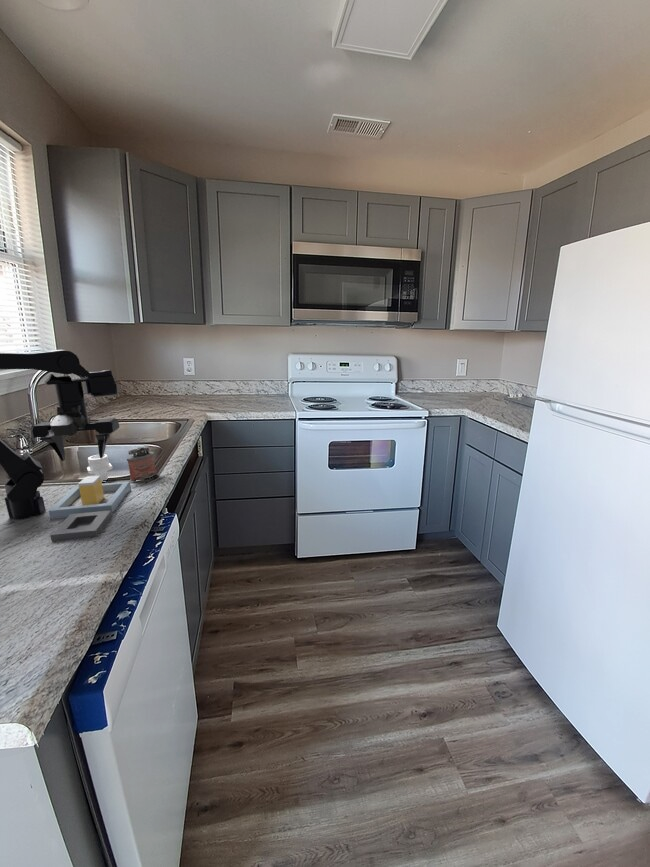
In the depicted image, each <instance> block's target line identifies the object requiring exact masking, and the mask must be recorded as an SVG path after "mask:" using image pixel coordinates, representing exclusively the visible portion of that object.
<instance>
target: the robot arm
mask: <svg viewBox="0 0 650 867" xmlns="http://www.w3.org/2000/svg"><path fill="white" fill-rule="evenodd" d="M0 370H36V371H40V372H41V371H42V372H47V373H48V372H49V373H50V374H49V376H48V378H46V379H45V380H44V383H45V385H49V386H52V385H54V386H55V392H56V396H57V402H58V406H57V407H56V413H57V414H56V416H55V417H54V418H53V419H52V421H41V422H40V423H38V424H35V425H33V426H32V428H31V431H30V432H31V437H32V438H35V439H37V438H38V440H39V441H43V442H46V443H48V444H49V445H50V446H51V448H52V449H53V450H54V452H55V453H56V455H57V456H58V457H59V460H60V461H62V462H64V461H65V460H66V451H65V445H64V440H63V437H64V436H68V437H70V436H75V435H76V434H77V433H78V432H80V431H96V434H95V438H96V439H97V448H98V455H100V458H103V456H104V454H105V452H106V449H107V444H108V440H109V439H110V438H109V437H110V435H112V433H113V434H114V432H116V431H117V430H118V429H120V422H119V420H118V419H117V418H116V417H107V418H106V417H105V418H101V419H98V420H97V421H96V422H91V418H90V417H89V414H88V411H87V407H88V406H89V405H88V402H87V401H86V399H85V395H87V396H88V395H90V398H92V399H96V398H105V397H106V398H107V397H114V396H117V394H118V388H117V382H116V380H115V378H114V376H113V374H112V370H111V369H105V370H99V371H88V369H86V368H85V367H84V366H82V365H81V364H80V358H79V357H78V356H77V354H75V353H74V352H73V351H70V350H67V349H55V350H46V351H38V352H31V353H30V352H29V353H28V352H27V353H26V352H25V353H24V352H21V353H20V352H0ZM53 373H55V374H61V376H55V375H54V374H53ZM72 374H73V375H75V376H78V377H80V378H73V379H72V377H71V376H70V375H72ZM82 382H83V383H82ZM84 392H85V393H84ZM0 466H1V468H3V470H4V471H5V473H6V475H7V476H8V478H9V479H8V481H7V482H6V483H5V484H4V490H5V494H6V496H5V497H4V502H5V506H6V510H7V513H8V518H9V519H12V520H13V519H14V520H25V519H30V518H33V517H38V516H42V515H43V514H44V513H45V512H46V505H45V501H44V497H43V496H42V495H41V491H40V490H38V488H40V487H41V486H42V485H43V483H44V481H45V475H44V473H43V471H42V470H43V466H42V465H41V462H40V461H38V460H36V459H34V458H33V456H32V455H31V454H30V453H29V451H25V452H24V453H23V454H21V453H19V452H17V451H15V450H14V449H13V448H11V447H10V446H9V445H8V444H7V443H6V442H5V441H3V439H2V438H0Z"/></svg>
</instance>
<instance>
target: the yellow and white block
mask: <svg viewBox="0 0 650 867" xmlns="http://www.w3.org/2000/svg"><path fill="white" fill-rule="evenodd" d="M102 484H103V483H102V482H101V477H100V476H95V475H90V476H85V477H84V478H82V480H80V481H79V483H77V486H78V485H79V490H80V496H79V497H80V500H81V504H82V505H92V504H101V502H102V501H103V500H104V499H105V494H103V488H102Z"/></svg>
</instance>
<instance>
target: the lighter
mask: <svg viewBox="0 0 650 867" xmlns="http://www.w3.org/2000/svg"><path fill="white" fill-rule="evenodd" d="M127 452H128V455H129V457H126V461H127V463H128V471H129V476H130V478H131V479H130V478H129V481H130V480H131V481H136V480H139V479H142V478H146V477H149V476H152V475H155V474H157V471H156V464H155V459H154V455H155V453H154V452H153V451H150V447H149V446H148V445H147V446H144V447H142V446H138V447H137V448H132V449H128V451H127Z"/></svg>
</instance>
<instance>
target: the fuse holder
mask: <svg viewBox="0 0 650 867" xmlns="http://www.w3.org/2000/svg"><path fill="white" fill-rule="evenodd" d="M112 517H113V513H111V510H110V511H99V512H88V513H77V514H70V515H69V516H68V517H65V519H64V520H63V521H62V522H61V523H60V524H59V525H58V526H57V527H56V529H54V531H52V533H51V534H50V539H51V542H59V541H68V540H79V539H88V538H96V537H99V535H100V534H101V532H102V531H103V529H105V526H107V524H108V522H109V521H110V520H111V519H112Z"/></svg>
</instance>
